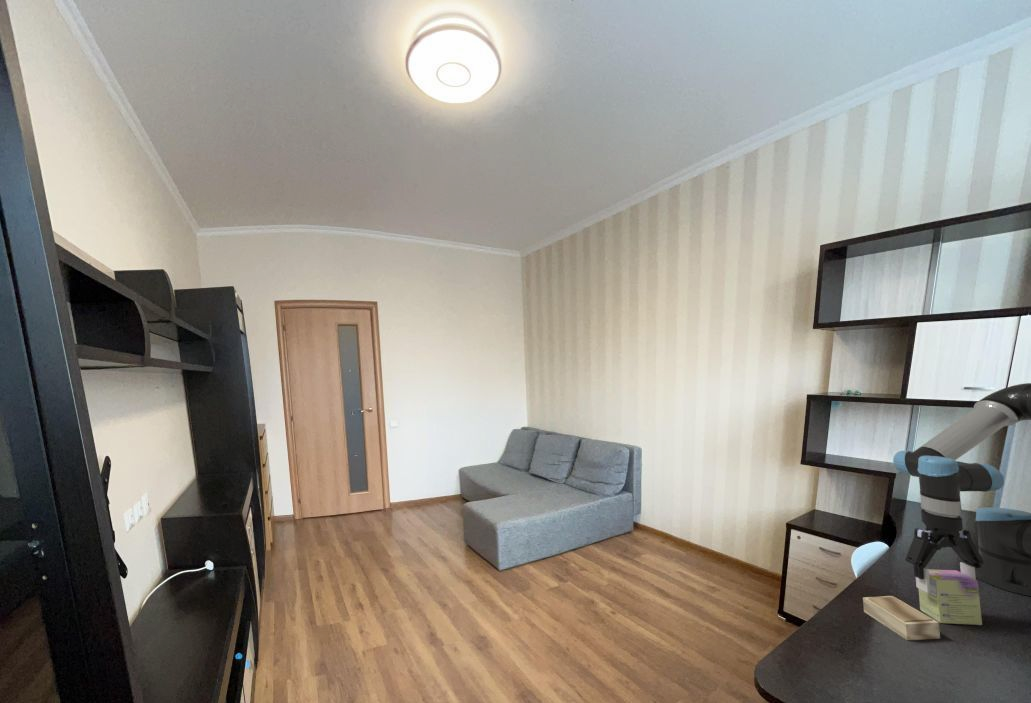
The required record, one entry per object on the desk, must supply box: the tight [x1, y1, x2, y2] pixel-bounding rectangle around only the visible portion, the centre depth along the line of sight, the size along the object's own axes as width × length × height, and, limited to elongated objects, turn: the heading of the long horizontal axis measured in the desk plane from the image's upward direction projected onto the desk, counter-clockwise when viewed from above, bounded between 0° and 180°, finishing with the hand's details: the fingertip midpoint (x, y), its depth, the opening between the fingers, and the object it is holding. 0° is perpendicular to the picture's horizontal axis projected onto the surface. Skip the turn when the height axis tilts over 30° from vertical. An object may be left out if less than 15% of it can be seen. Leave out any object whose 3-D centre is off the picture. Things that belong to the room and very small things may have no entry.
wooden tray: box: [862, 595, 941, 641], centre depth 98 cm, size 9×11×4 cm
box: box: [918, 568, 983, 626], centre depth 100 cm, size 10×6×12 cm, turn 84°
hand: (946, 589), depth 100 cm, fingers open, 13 cm apart
